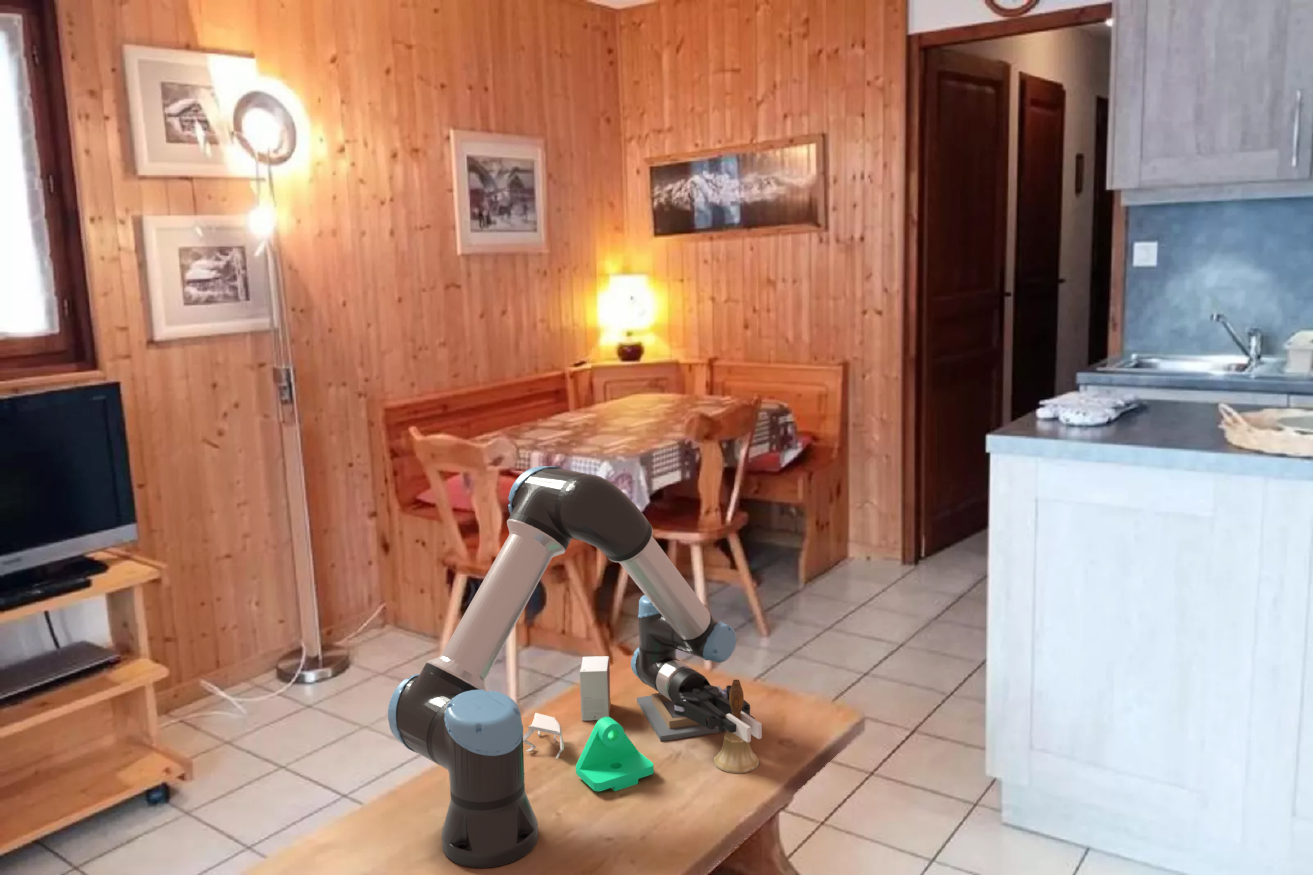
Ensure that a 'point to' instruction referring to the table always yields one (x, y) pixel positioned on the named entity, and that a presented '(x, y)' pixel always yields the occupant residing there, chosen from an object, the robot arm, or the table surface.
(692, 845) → the table surface
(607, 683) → the small box
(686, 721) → the bell board
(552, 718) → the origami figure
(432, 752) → the robot arm
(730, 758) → the hand bell
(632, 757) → the camera mount
